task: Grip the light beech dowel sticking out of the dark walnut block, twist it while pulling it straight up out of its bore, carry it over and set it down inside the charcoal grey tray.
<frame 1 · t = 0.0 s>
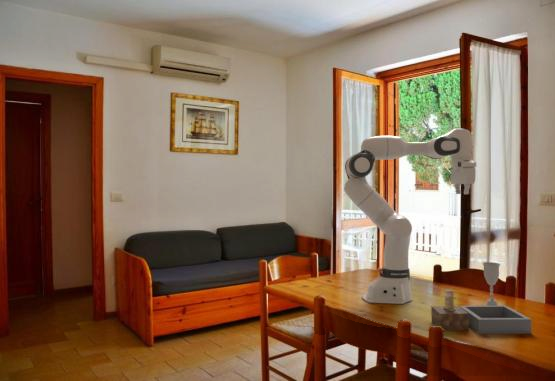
hand: (462, 194, 202), 48 cm above the table, tool pointing down, fingers open, 8 cm apart
tray: (493, 325, 162), on the table
chalice: (491, 305, 190), on the table
dowel block: (449, 325, 162), on the table
dowel: (449, 308, 162), in the dowel block
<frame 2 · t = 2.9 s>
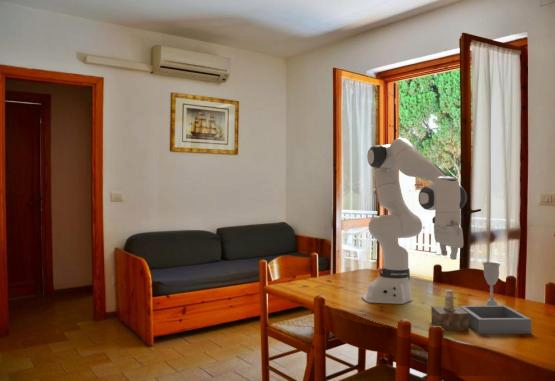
hand: (448, 257, 162), 25 cm above the table, tool pointing down, fingers open, 8 cm apart
nothing on the table moved.
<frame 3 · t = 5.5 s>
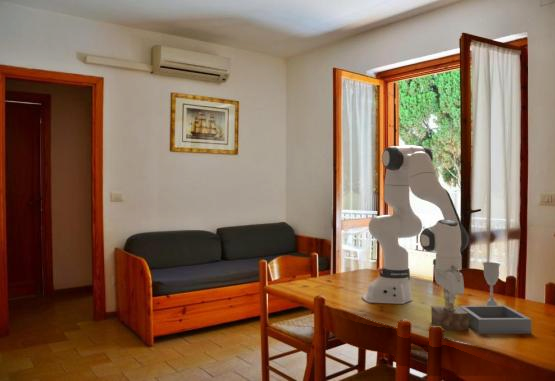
hand: (449, 301, 162), 9 cm above the table, tool pointing down, fingers closed on dowel, 3 cm apart
dowel: (449, 308, 162), in the dowel block, touching gripper
everything else where it was.
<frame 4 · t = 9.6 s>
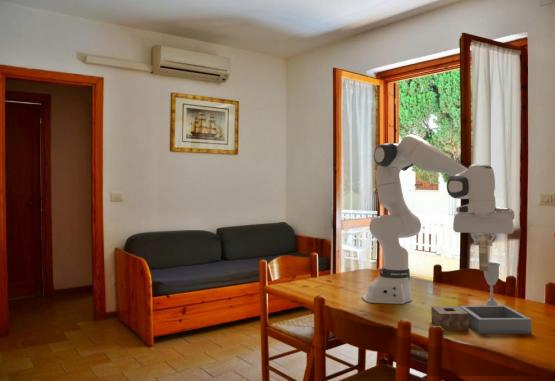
hand: (483, 245, 162), 30 cm above the table, tool pointing down, fingers closed on dowel, 3 cm apart
dowel: (483, 252, 162), point 27 cm above the table, touching gripper
everything else where it was.
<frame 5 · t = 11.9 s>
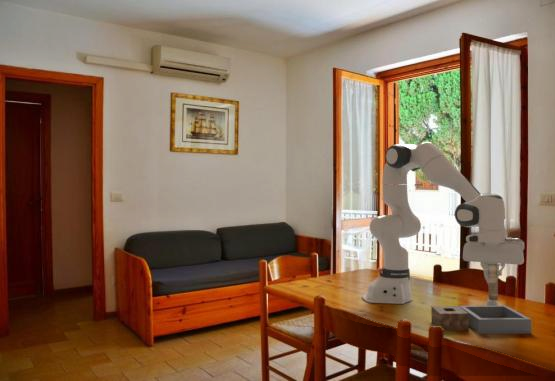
hand: (492, 274, 162), 19 cm above the table, tool pointing down, fingers closed on dowel, 3 cm apart
dowel: (493, 281, 162), point 16 cm above the table, touching gripper
everything else where it was.
when the fingers open (12 cm above the table, at t = 14.0 s): dowel drops 1 cm, resting on tray.
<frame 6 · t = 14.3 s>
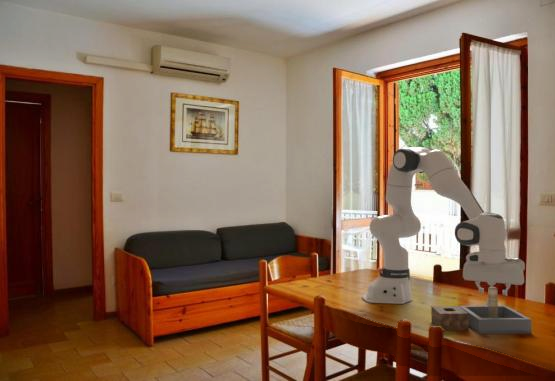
hand: (492, 294, 162), 12 cm above the table, tool pointing down, fingers open, 6 cm apart
dowel: (493, 305, 162), in the tray, point 8 cm above the table
everything else where it was.
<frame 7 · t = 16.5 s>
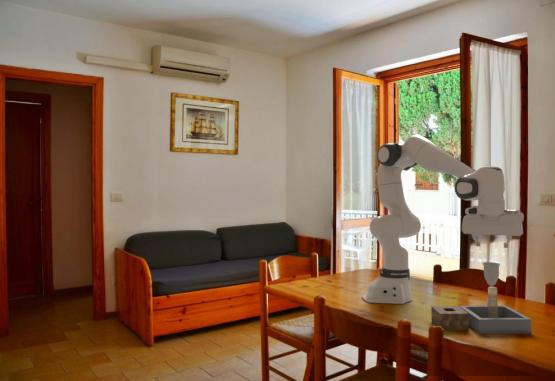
hand: (491, 247, 162), 29 cm above the table, tool pointing down, fingers open, 8 cm apart
nothing on the table moved.
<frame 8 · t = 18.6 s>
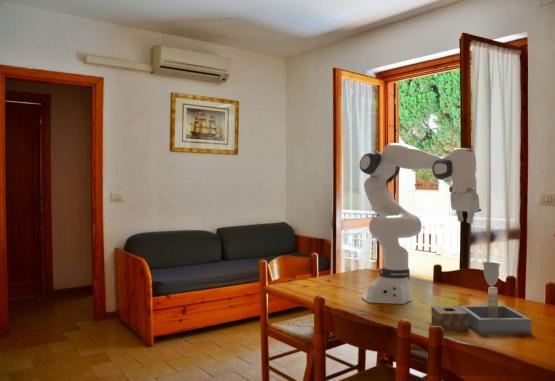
hand: (464, 222, 177), 37 cm above the table, tool pointing down, fingers open, 8 cm apart
nothing on the table moved.
at the end: dowel inside the target area on the tray (0.0 cm from its centre), point 7.5 cm above the tray's base; the gripper is holding nothing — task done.
